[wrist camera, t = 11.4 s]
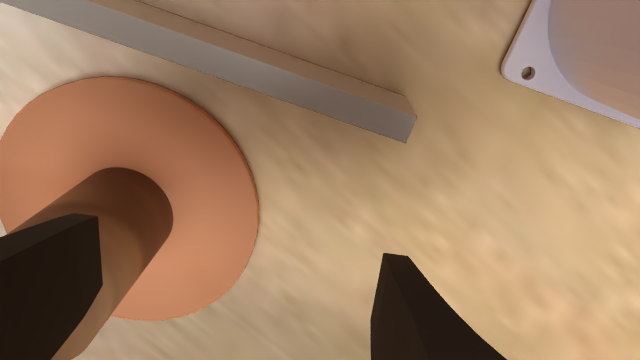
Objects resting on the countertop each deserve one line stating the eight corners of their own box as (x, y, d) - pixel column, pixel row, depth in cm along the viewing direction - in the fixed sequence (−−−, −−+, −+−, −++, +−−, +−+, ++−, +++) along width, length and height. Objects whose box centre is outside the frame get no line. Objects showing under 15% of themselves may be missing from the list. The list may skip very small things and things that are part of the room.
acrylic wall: (405, 96, 19) (417, 117, 16) (396, 118, 20) (405, 143, 16) (-82, -77, 18) (-177, -94, 14) (-82, -50, 18) (-175, -60, 15)
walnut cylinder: (173, 174, 20) (91, 259, 14) (172, 260, 22) (99, 373, 15) (74, 160, 20) (-56, 239, 14) (80, 247, 22) (-33, 354, 15)
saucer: (291, 130, 20) (289, 136, 19) (223, 338, 24) (219, 349, 24) (16, 35, 19) (2, 37, 18) (-3, 268, 24) (-15, 277, 23)
